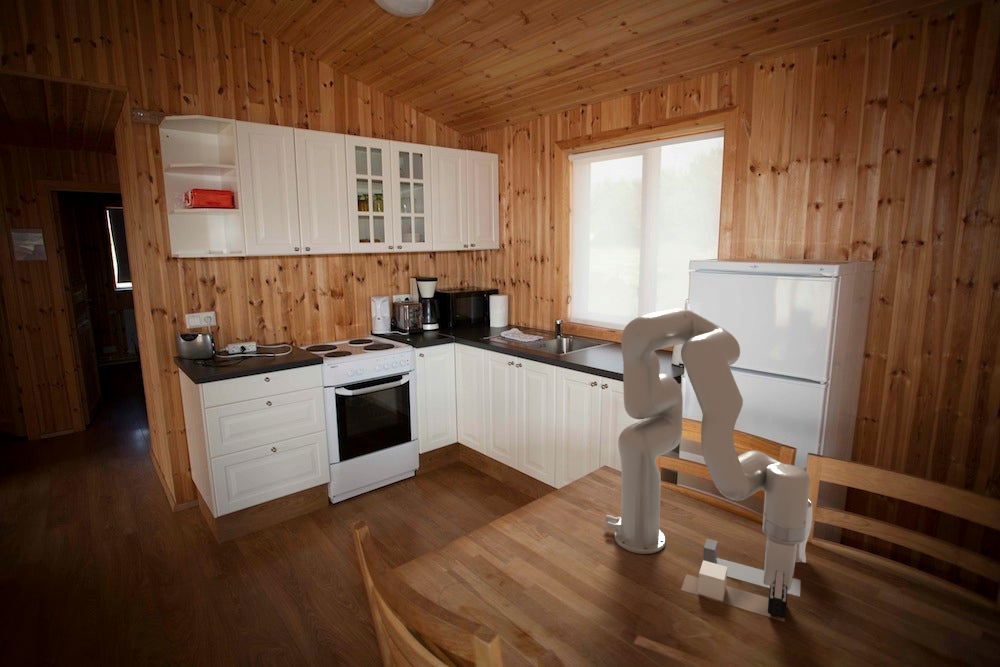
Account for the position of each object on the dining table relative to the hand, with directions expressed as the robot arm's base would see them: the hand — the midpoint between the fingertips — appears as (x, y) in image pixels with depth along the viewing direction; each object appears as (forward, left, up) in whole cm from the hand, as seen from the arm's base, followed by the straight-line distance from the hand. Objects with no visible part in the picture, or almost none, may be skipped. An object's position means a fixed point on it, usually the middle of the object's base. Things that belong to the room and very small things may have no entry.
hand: (777, 606), depth 108 cm
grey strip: (-6, +10, -2) cm, 11 cm away
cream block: (-13, 0, -1) cm, 13 cm away
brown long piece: (-9, 0, -2) cm, 9 cm away
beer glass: (+2, +22, -2) cm, 22 cm away
